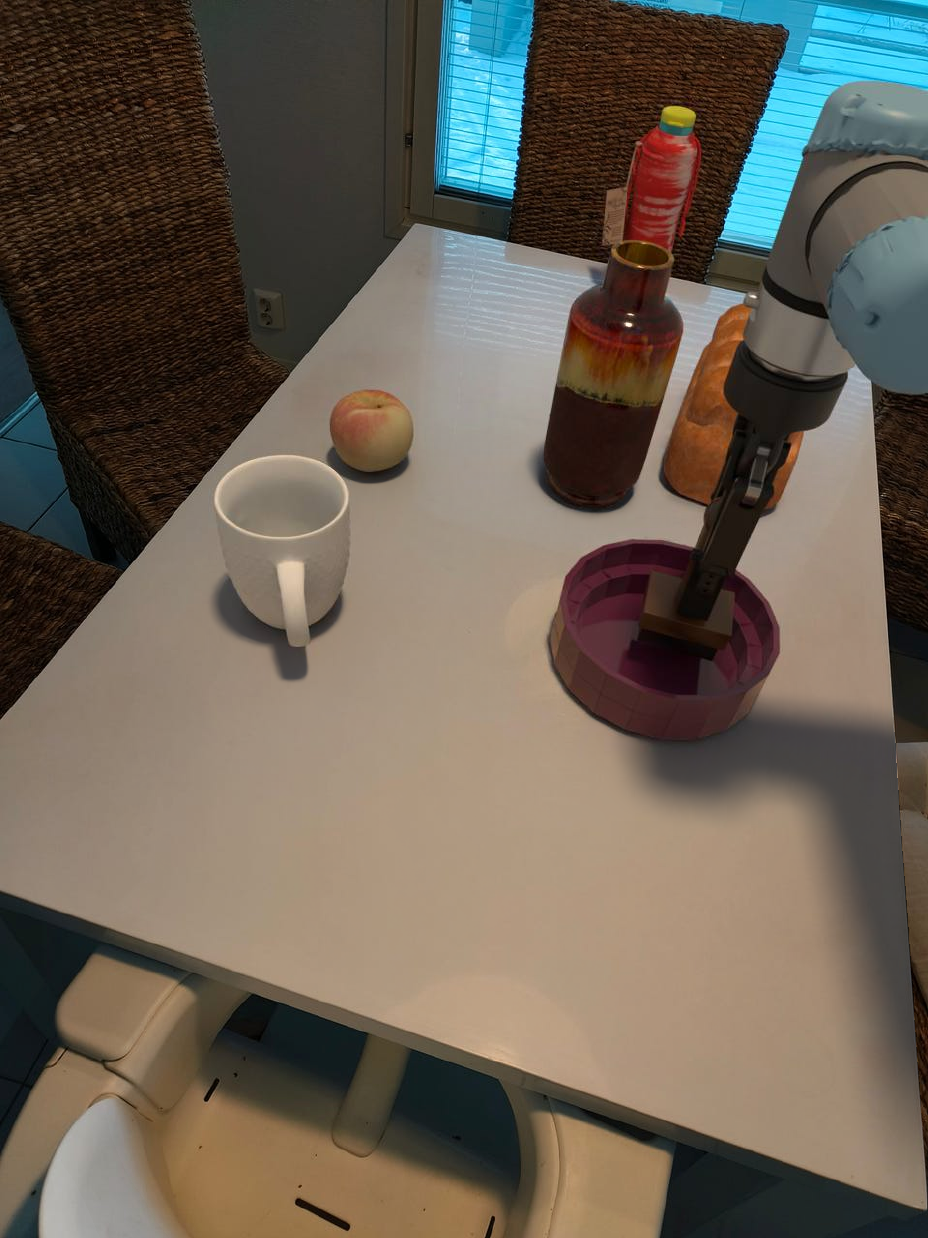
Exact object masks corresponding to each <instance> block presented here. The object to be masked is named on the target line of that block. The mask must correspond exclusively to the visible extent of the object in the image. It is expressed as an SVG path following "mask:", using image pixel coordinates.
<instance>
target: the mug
mask: <svg viewBox="0 0 928 1238" xmlns="http://www.w3.org/2000/svg"><path fill="white" fill-rule="evenodd" d="M213 504H214V511H215V518H216V519H215V521H216V525H217V527H216V528H217V533H218V536H219V544H220V548H221V550H222V551H221V552H222V557H223V558H224V566H225V568H226V569H227V575H228V577H229V578H230V580H231V583H232V586H233V588H234V589H235V591H236V593H237V595H238V597H239V598H240V600H241V602H242V603H243V604H244V606H245V607H246V608H247V610H248V611H249V612H250V613H252V614H253V615H254V616H255V617H256V618H257V619H259V620H260V621H261V622H262V623H264V624H266V625H268V626H270V627H273V628H276V629H279V630H285V632H286V636H287V641H288V644H289V645H290V646H291V647H294V648H296V647H297V648H301V647H306V646H308V645H310V644H311V635H310V628H309V627H310V626H312V625H314V624H316V623H317V622H318V621H320V620H321V619H322V618H323V617H325V616H326V614H327V613H329V611H330V610H331V608H332V607H333V606H334V604H335V602H336V601H337V599H338V598H339V596H340V593H341V592H342V587H343V585H344V584H345V578H346V576H347V573H348V572H347V571H348V566H349V557H350V555H351V554H350V548H351V512H350V492H349V489H348V486H347V484H346V482H345V480H344V479H343V478H342V476H341V475H340V474H339V473H338V472H337V471H336V470H335V469H334V468H332V467H330V466H329V465H327V464H325V463H323V462H321V461H319V460H317V459H314V458H310V457H305V456H303V455H302V456H301V455H296V454H295V455H294V454H278V455H267V456H262V457H258V458H254V459H251V460H248V461H245V462H243V463H241V464H239V465H237V466H235V467H233V468H232V469H230V471H228V472H227V473H226V474H225V475H224V476H223V477H222V478H221V479H220V480H219V482H218V483H217V486H216V488H215V490H214V495H213Z"/></svg>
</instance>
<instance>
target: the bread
mask: <svg viewBox="0 0 928 1238" xmlns="http://www.w3.org/2000/svg"><path fill="white" fill-rule="evenodd" d="M750 311H751V308H748V307H746V306H745V305H744V303H743V302H741V303H739V304H736V305H734V306H731V307H729V308H728V309H727V310H726V311H725V312H724V313H722V315H720V316H719V317H718V319H717V321H716V325H715V327H714V330H713V333H712V336H711V341H709V342H708V344H706V345H705V346H704V348H703V349H702V352H701V354H700V356H699V358H698V361H697V364H696V366H695V367H694V369H693V373H692V376H691V377H690V378H691V379H690V381H689V384H688V387H687V389H686V392H685V395H684V399H683V401H682V404H681V407H680V409H679V411H678V414H677V417H676V420H675V422H674V424H673V426H672V429H671V434H670V437H669V441H668V444H667V449H666V452H665V456H664V460H663V463H662V464H663V471H664V476H665V477H666V479H667V480H668V482H669V484H670V486H671V487H672V489H674V490H675V491H676V492H677V493H678V494H680V495H681V496H684V497H687V498H690V499H692V500H695V501H697V502H700V503H702V504H705V505H707V506H708V505H709V504H710V503H711V500H710V499H711V498H710V497H711V494H712V493H713V492H714V489H715V487H716V484H717V481H718V478H719V476H720V473H721V470H722V467H723V465H724V462H725V459H726V454H727V449H728V446H729V443H730V441H731V438H732V436H733V435H732V432H733V427H734V422H735V419H736V417H737V414H738V413H737V412H736V411H735V410H734V409H733V408H732V407H731V406H730V405H729V404H728V402H727V400H726V398H725V396H724V391H723V387H724V382H725V379H726V376H727V374H728V371H729V368H730V365H731V362H732V359H733V357H734V354H735V351H736V348H737V346H738V344H739V343H740V342H741V341H742V340H744V339H743V331H744V328H745V325H746V322H747V319H748V316H749V314H750ZM804 432H805V431H800V432H795V433H791V434H790V436H789V438H788V440H787V442H791V443H792V444H791V449H790V452H789V455H788V457H787V459H786V462H785V464H784V465H783V466H782V467H781V468H779V470H778V472H777V474H776V477H775V479H774V482H773V484H772V485H774V487H775V489H774V491H775V492H774V496H773V498H771V499H770V501H769V503H768V504H767V506H766V507H765V509H764V511H766V510H768V509H772V508H773V507H775V506H776V505H777V504H778V503H779V502H780V500H781V499H782V496H783V494H784V491H785V489H786V487H787V485H788V482H789V479H790V478H791V475H792V472H793V470H794V468H795V465H796V463H797V460H798V457H799V453H800V449H801V446H802V442H803V439H804Z"/></svg>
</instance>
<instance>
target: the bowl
mask: <svg viewBox="0 0 928 1238" xmlns="http://www.w3.org/2000/svg"><path fill="white" fill-rule="evenodd" d="M694 548H695V546H694V547H693V546H689V545H686V544H681V543H676V542H672V541H670V540H669V541H668V540H663V539H644V538H643V539H641V538H640V539H637V538H632V539H631V538H630V539H627V540H622V541H617V542H612V543H608V544H604V545H601V546H599V547H597V548H596V549H594V550H592V551H590V552H589V553H587V554H585V555H583V556H582V557H580V558H579V559H578V561H576V563H575V564H574V565H573V567H571V569H570V570H569V571H568V572H567V574H566V575H565V577H564V581H563V584H562V588H561V592H560V595H559V599H558V605H557V608H556V612H555V615H554V620H553V623H552V624H553V625H552V629H551V632H550V635H549V636H550V637H549V642H550V647H551V653H552V659H553V664H554V667H555V668H556V670H557V673H559V675H560V677H561V679H562V680H563V682H564V683H565V685H566V688H568V690H569V692H570V693H572V694H573V696H574V697H576V698H577V699H578V700H579V701H580V702H581V703H582V704H584V705H585V706H586V707H587V708H588V709H589V710H590V711H591V712H592V713H593V714H595V715H597V716H599V717H601V718H603V719H604V720H606V721H609V722H610V723H612V724H614V725H616V726H618V727H619V728H621V729H623V730H626V731H629V732H632V733H635V734H639V735H644V736H647V737H651V738H655V739H659V740H698V739H702V738H704V737H708V736H712V735H715V734H718V733H722V732H724V731H727V730H728V729H729V728H731V727H733V725H735V724H736V723H737V722H738V721H740V720H741V719H743V717H745V716H746V715H747V714H748V713H749V712H750V710H751V708H752V707H753V705H754V703H755V701H756V700H757V697H758V696H759V693H760V692H761V690H762V689H763V687H764V684H765V683H766V681H767V679H768V677H769V676H770V674H771V671H772V670H773V668H774V665H775V664H776V662H777V660H778V658H779V656H780V655H781V627H780V624H779V623H778V620H777V618H776V615H775V613H774V610H773V608H772V606H771V603H770V602H769V600H767V598H766V597H765V596H764V594H763V593H762V592H761V591H760V590H759V588H758V587H757V586H756V585H755V584H754V583H753V581H752V580H750V578H748V577H747V576H746V575H745V574H743V573H741V572H740V571H739V570H737V569H736V571H735V574H734V575H733V577H732V578H731V579H729V578H726V579H725V582H724V584H723V586H722V589H723V590H727V591H731V592H734V593H735V597H734V610H733V622H732V635H731V638H730V640H729V642H728V644H727V646H726V648H725V650H724V651H722V650H719V649H718V651H717V653H716V655H715V657H714V659H713V661H709V660H705V659H702V658H698V657H695V656H691V655H687V654H684V653H680V652H677V651H673V650H670V649H666V648H662V647H659V646H655V645H652V644H648V643H645V642H641V641H638V640H637V637H638V632H639V627H638V624H639V618H640V613H641V608H642V602H643V597H644V592H645V587H646V583H647V581H648V578H649V575H650V573H651V571H652V570H653V571H657V572H660V573H664V574H668V575H671V576H675V577H679V578H683V576H684V573H685V571H686V568H687V566H688V564H689V561H690V556H691V553H692V549H694Z"/></svg>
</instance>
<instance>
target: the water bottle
mask: <svg viewBox="0 0 928 1238" xmlns="http://www.w3.org/2000/svg"><path fill="white" fill-rule="evenodd" d="M661 111H662V112H661V115H660V121H659V124H658V125H656V126H655V128H654V129H651V130H649V131H648V132H647V134H645V135H644V136H643V137H642V138H641V139H640V140H636V142H635V149H634V152H633V156H632V159H631V163H630V168H629V172H628V176H627V181H626V185H625V186H621V187H618V188H613V189H609V190H607V191H606V200H605V211H604V220H603V231H602V242H601V246H608V247H612V246H613V245H614V244H616V243H618V242H621V241H625V240H640V241H646V242H651V243H654V244H657V245H659V246H662V247H664V248H665V249H667V250H668V251H670V253H671V254H672V252H673V248H674V247H673V246H674V242H675V237H676V233H677V232H676V231H677V228H678V224H679V221H680V226H679V230H678V233H677V234H678V236H679V237H680V238H682V236H683V233H684V231H685V226H686V216H687V214H688V213H689V212H690V208H691V204H692V201H693V197H694V194H695V190H696V186H697V180H698V176H699V172H700V166H701V161H702V147H701V143H700V141H699V139H698V138H697V137H696V136H695V133H694V131H693V128H694V125H695V122H696V118H697V114H696V113H695V111H693V110H692V109H690V108H687V107H683V106H678V105H671V106H670V105H669V106H666V107H664V108H663V109H662V110H661ZM632 188H633V189H632ZM632 190H633V191H632ZM631 191H632V199H631V205H630V209H629V207H628V205H629V201H630V197H631ZM683 207H684V208H683ZM682 210H683V213H682ZM628 213H629V214H628ZM681 213H682V216H681Z"/></svg>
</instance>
